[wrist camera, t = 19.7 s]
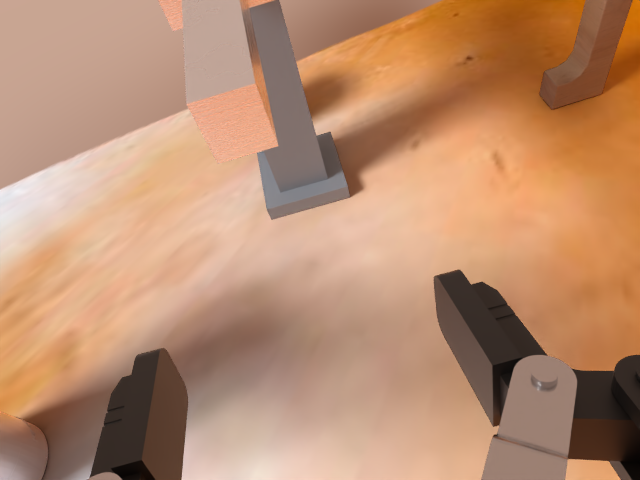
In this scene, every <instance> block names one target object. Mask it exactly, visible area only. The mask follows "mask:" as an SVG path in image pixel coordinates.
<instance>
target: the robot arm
mask: <svg viewBox="0 0 640 480" xmlns="http://www.w3.org/2000/svg"><path fill="white" fill-rule="evenodd" d="M434 289H435V300H436V310H437V318H438V322H439V325H440V328H441V331H442V333H443V335H444V337H445V339H446V341H447V343H448V345H449V346H450V348H451V350H452V352H453V354H454V356H455V357H456V359H457V361H458V363H459V365H460V367H461V368H462V370H463V372H464V374H465V376H466V378H467V379H468V381H469V383H470V385H471V387H472V389H473V390H474V392H475V394H476V396H477V398H478V400H479V401H480V403H481V405H482V407H483V409H484V411H485V413H486V414H487V416H488V418H489V420H490V422H491V424H492V425H493V427H494V426H498V425H499V429H498V433H497V435H494V436H493V438H492V441H491V444H490V448H489V452H488V455H487V459H486V463H485V467H484V471H483V475H482V479H481V480H565V476H566V468H567V460H568V459H584V460H603V461H609V462H610V464H611V465H612V467H613V468H614V470H615V471H616V473H617V474H618V476H619V477H620V479H621V480H640V355H633V356H628V357H625V358H623V359H621V360H620V361H619V362H618V363H617V364H616V367H615V370H614V371H581V370H575V369H571V368H570V367H569V366H568V365H567V364H566V363H564V362H563V361H561V360H559V359H557V358H554V357H550V356H548V355H547V354H546V353H545V352H544V351H543V349H542V348H541V347H540V345H539V344H538V343H537V342H536V340H535V339H534V338H533V336H532V335H531V334H530V332H529V331H528V330H527V329H526V327H525V326H524V325H523V323H522V322H521V321H520V319H519V318H518V317H517V316H515V313H514V312H513V310H512V309H511V308H510V306H508V305H507V302H506V301H505V300H504V299H503V297H502V296H501V295H500V293H499V292H498V291H497V290H495V289H494V288H492V287H490V286H489V285H487V284H485V283H483V282H479V283H476V284H472V285H471V284H470V283H469V281H468V280H467V278H466V277H465V275H464V274H463V273H462V271H461V270H455V271H452V272H448V273H444V274H440V275H437V276H434ZM187 409H188V396H187V390H186V387H185V384H184V382H183V380H182V378H181V376H180V374H179V372H178V370H177V369H176V367H175V365H174V363H173V361H172V359H171V357H170V356H169V354H168V352H167V350H166V349H164V348H161V349H157V350H153V351H150V352H146V353H142V354H138V355H137V356H136V358H135V361H134V366H133V370H132V375H130V376H126V377H122V379H121V380H120V382H119V383H118V385H117V386H116V388H115V389H114V391H113V392H112V394H111V397H110V401H109V405H108V409H107V411H108V413H106V417H105V421H104V427H103V428H102V432H101V436H100V440H99V444H98V448H97V452H96V456H95V460H94V463H93V467H92V471H91V475H90V478H89V479H88V480H181V477H182V466H183V454H184V443H185V431H186V420H187ZM47 459H48V445H47V441H46V438H45V435H44V434H43V432H42V431H41V430H40V429H39V428H38V427H37V426H35V425H34V424H31V423H28V422H26V421H24V420H22V419H20V418H17V417H13V416H11V415H8V414H6V413H3V412H1V411H0V480H41V479H42V477H43V474H44V472H45V468H46V464H47Z"/></svg>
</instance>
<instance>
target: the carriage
mask: <svg viewBox="0 0 640 480" xmlns="http://www.w3.org/2000/svg"><path fill="white" fill-rule="evenodd" d="M158 1H159V3H160V5H161V8H162V10H163V12H164V14H165V16H166V18H167V20H168V22H169V24H170V26H171V28H172V30H173V31H175V30H179V29H182V28H183V40H184V62H185V85H186V104H187V106H188V108H189V110H190V112H191V114H192V116H193V118H194V119H195V121H196V123H197V125H198V127H199V129H200V131H201V133H202V135H203V137H204V138H205V140H206V142H207V144H208V146H209V148H210V150H211V152H212V154H213V156H214V157H215V159H216V161H217V163H218V164H219V163H222V162H226V161H229V160H233V159H236V158H239V157H243V156H246V155H250V154H253V153H257V152H260V151H264V150H267V149H270V148H274V147H277V146H278V142H277V137H276V133H275V128H274V123H273V118H272V114H271V109H270V104H269V99H268V95H267V90H266V85H265V81H264V76H263V71H262V66H261V62H260V57H259V52H258V47H257V43H256V38H255V33H254V28H253V24H252V19H251V14H250V9H249V8H251V7H254V6H257V5H261V4H264V3H267V2H271V1H274V0H158Z"/></svg>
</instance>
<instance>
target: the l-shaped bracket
mask: <svg viewBox="0 0 640 480" xmlns="http://www.w3.org/2000/svg"><path fill="white" fill-rule="evenodd" d="M631 3H632V0H586V1H585V5H584V9H583V13H582V17H581V21H580V25H579V29H578V33H577V37H576V41H575V45H574V49H573V51H572V53H571V54H570V56H569V57H568V59H567V60H566V61H565V62H563V63H562V64H560V65H559V66H557V67H555V68H552V69H549V70H546V71H544V74H543V79H542V84H541V89H540V96H541V97H542V99H543V100H544V101H545V102H546V103H547V105H548V106H549V107H550V108H551V109H555V108H558V107H561V106H564V105H568V104H571V103H574V102H577V101H581V100H584V99H587V98H590V97H594V96H597V95H600V94H602V92H603V88H604V85H605V82H606V79H607V76H608V73H609V70H610V67H611V64H612V61H613V58H614V54H615V51H616V48H617V45H618V42H619V39H620V36H621V33H622V30H623V27H624V24H625V21H626V18H627V15H628V12H629V9H630V6H631Z"/></svg>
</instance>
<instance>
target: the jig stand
mask: <svg viewBox="0 0 640 480" xmlns="http://www.w3.org/2000/svg"><path fill="white" fill-rule="evenodd" d="M249 9H250V14H251V19H252V24H253V28H254V33H255V38H256V43H257V47H258V52H259V57H260V62H261V66H262V71H263V76H264V81H265V85H266V90H267V95H268V99H269V104H270V109H271V114H272V118H273V123H274V128H275V133H276V137H277V142H278V146H277V147H274V148H270V149H267V150H264V151H262V152H259V153H257V155H258V161H259V166H260V172H261V178H262V184H263V190H264V196H265V202H266V208H267V211H268V213H269V215H270V217H271V219H275V218H279V217H282V216H286V215H289V214H293V213H296V212H300V211H303V210H307V209H310V208H314V207H317V206H321V205H324V204H328V203H331V202H335V201H338V200H342V199H345V198H349V197H350V194H349V190H348V186H347V182H346V179H345V176H344V173H343V170H342V167H341V163H340V160H339V157H338V154H337V151H336V148H335V144H334V141H333V138H332V135H331V132H328V133H324V134H321V135H317V136H316V133H315V130H314V126H313V122H312V119H311V115H310V111H309V108H308V104H307V100H306V97H305V93H304V89H303V86H302V82H301V78H300V75H299V71H298V68H297V64H296V60H295V57H294V53H293V49H292V46H291V42H290V38H289V35H288V31H287V27H286V24H285V20H284V17H283V13H282V9H281V5H280V2H279V0H274V1H271V2H267V3H264V4H261V5H257V6H254V7H251V8H249Z"/></svg>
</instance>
